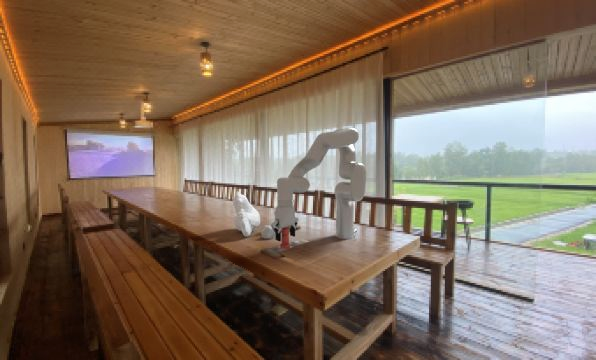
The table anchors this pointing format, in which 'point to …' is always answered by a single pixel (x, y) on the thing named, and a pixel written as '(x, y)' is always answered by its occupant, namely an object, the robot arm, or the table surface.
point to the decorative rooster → (245, 215)
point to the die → (268, 232)
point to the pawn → (285, 238)
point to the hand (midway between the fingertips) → (285, 238)
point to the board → (274, 251)
